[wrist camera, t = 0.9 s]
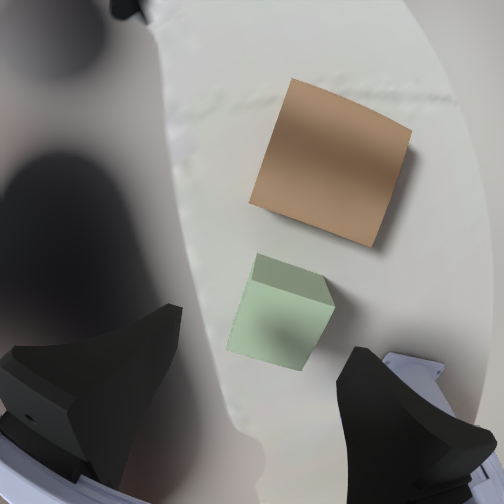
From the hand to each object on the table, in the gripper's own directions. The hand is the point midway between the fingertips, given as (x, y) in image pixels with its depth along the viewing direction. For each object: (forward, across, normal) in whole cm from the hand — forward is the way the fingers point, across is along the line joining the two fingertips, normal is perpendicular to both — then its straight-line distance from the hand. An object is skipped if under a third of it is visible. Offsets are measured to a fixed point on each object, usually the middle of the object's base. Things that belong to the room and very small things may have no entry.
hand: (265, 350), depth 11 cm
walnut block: (+10, -2, -8) cm, 13 cm away
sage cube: (+10, -1, +2) cm, 10 cm away
